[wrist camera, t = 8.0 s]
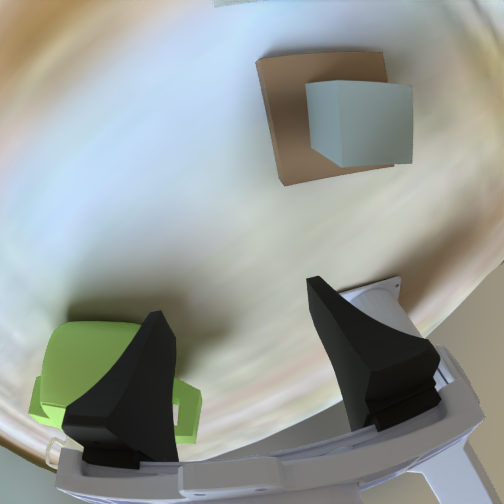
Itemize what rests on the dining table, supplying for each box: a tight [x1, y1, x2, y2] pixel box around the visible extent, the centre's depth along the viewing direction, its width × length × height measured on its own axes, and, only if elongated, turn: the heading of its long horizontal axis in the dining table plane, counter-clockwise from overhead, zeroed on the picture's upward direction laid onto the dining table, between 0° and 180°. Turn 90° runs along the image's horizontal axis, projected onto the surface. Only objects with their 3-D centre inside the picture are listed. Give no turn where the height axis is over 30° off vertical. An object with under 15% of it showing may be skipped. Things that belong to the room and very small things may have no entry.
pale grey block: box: [305, 80, 413, 168], centre depth 15 cm, size 4×4×6 cm
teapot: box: [29, 321, 202, 449], centre depth 25 cm, size 18×20×13 cm
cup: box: [46, 436, 83, 469], centre depth 39 cm, size 8×12×10 cm
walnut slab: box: [255, 52, 394, 186], centre depth 18 cm, size 9×9×2 cm
